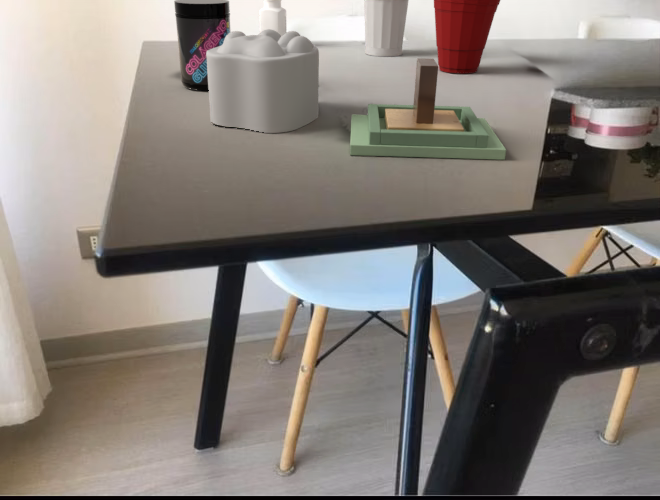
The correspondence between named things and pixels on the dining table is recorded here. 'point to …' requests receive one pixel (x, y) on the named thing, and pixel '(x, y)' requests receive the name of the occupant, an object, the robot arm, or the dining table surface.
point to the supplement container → (199, 36)
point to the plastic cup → (462, 32)
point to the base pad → (424, 137)
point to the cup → (384, 26)
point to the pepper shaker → (272, 17)
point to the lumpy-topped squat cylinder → (263, 81)
